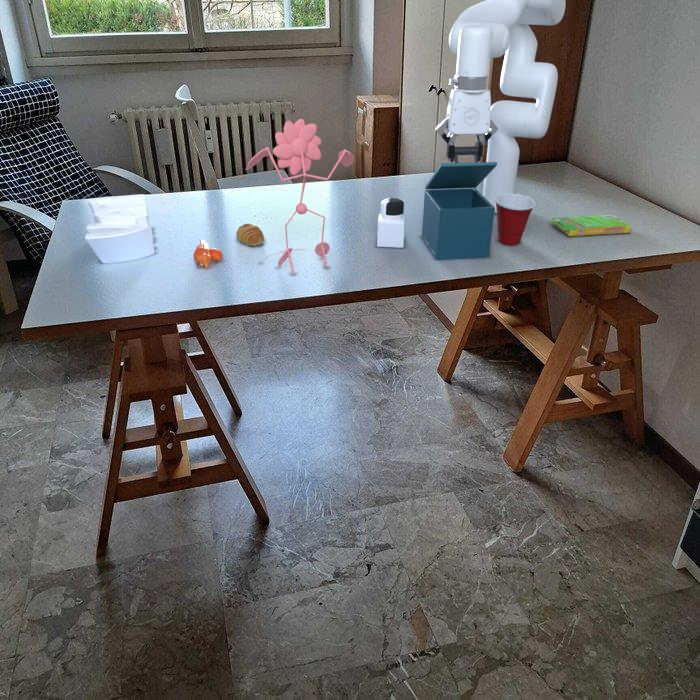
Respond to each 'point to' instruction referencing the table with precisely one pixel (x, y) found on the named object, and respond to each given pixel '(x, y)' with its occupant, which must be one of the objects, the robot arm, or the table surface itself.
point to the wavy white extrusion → (120, 228)
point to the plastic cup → (512, 217)
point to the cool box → (457, 223)
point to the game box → (591, 225)
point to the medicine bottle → (391, 224)
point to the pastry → (250, 235)
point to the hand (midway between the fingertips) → (463, 159)
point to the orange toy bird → (206, 254)
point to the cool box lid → (461, 171)
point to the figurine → (297, 154)
